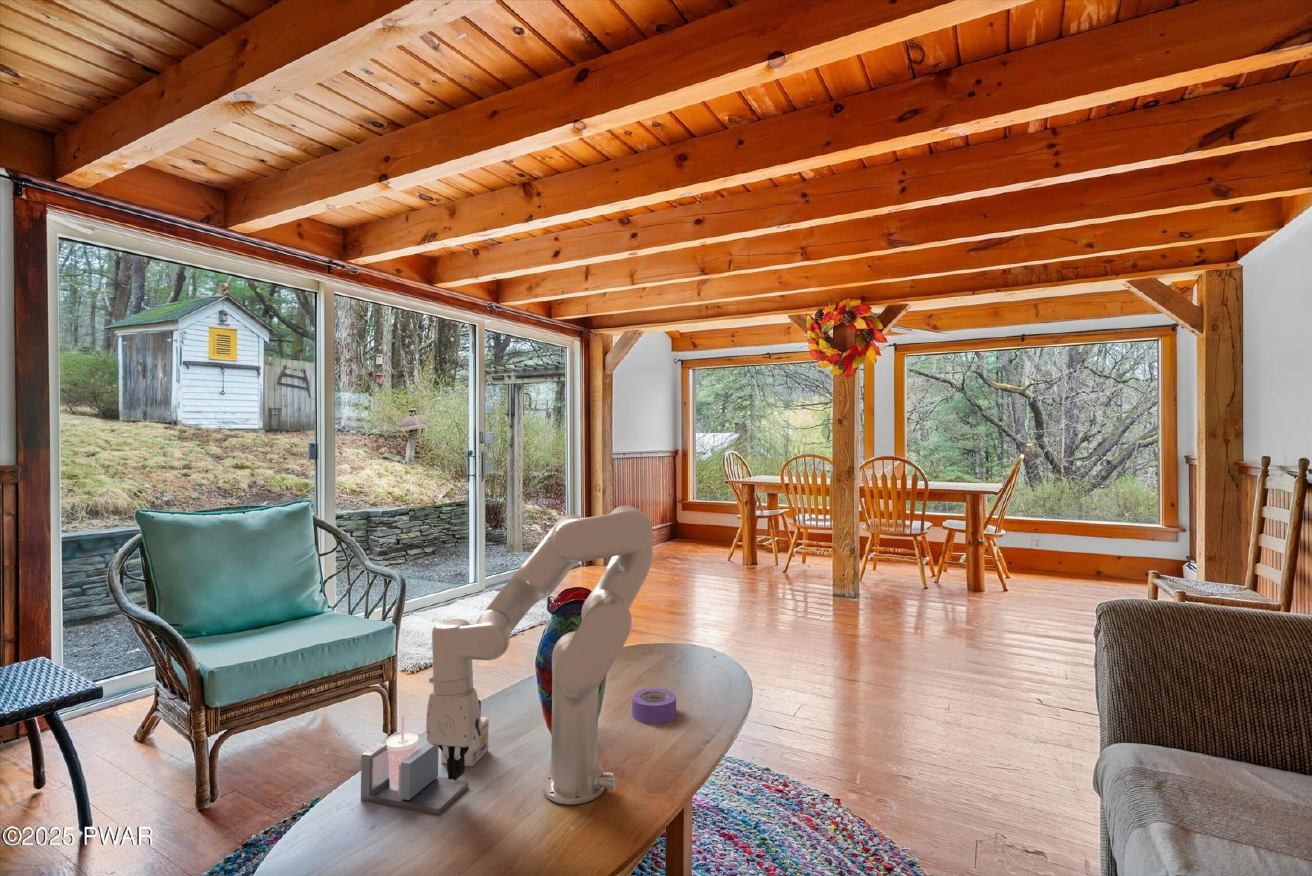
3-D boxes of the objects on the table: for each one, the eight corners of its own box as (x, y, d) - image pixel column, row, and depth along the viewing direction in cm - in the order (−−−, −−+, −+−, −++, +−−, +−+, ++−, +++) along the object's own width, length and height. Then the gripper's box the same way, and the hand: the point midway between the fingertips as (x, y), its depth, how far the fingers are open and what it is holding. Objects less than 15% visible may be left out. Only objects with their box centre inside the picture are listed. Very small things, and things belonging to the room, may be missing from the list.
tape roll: (623, 717, 161) (623, 698, 161) (648, 702, 170) (648, 684, 171) (660, 729, 154) (660, 709, 154) (684, 713, 164) (684, 694, 164)
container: (472, 767, 134) (473, 707, 135) (440, 763, 136) (441, 704, 136) (488, 750, 142) (489, 694, 142) (458, 747, 144) (459, 691, 144)
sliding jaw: (438, 776, 128) (438, 742, 128) (409, 800, 119) (409, 763, 119) (427, 774, 128) (428, 740, 129) (398, 798, 120) (398, 761, 120)
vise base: (468, 787, 126) (469, 743, 126) (438, 815, 117) (439, 767, 117) (394, 774, 131) (395, 732, 131) (360, 800, 121) (361, 754, 122)
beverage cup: (387, 779, 127) (388, 711, 127) (418, 774, 129) (419, 707, 129) (383, 794, 121) (385, 723, 122) (416, 789, 123) (418, 719, 123)
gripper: (409, 688, 121) (412, 782, 120) (475, 694, 117) (478, 791, 116) (432, 674, 128) (435, 762, 128) (496, 679, 124) (499, 770, 124)
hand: (456, 776), depth 122 cm, fingers closed
